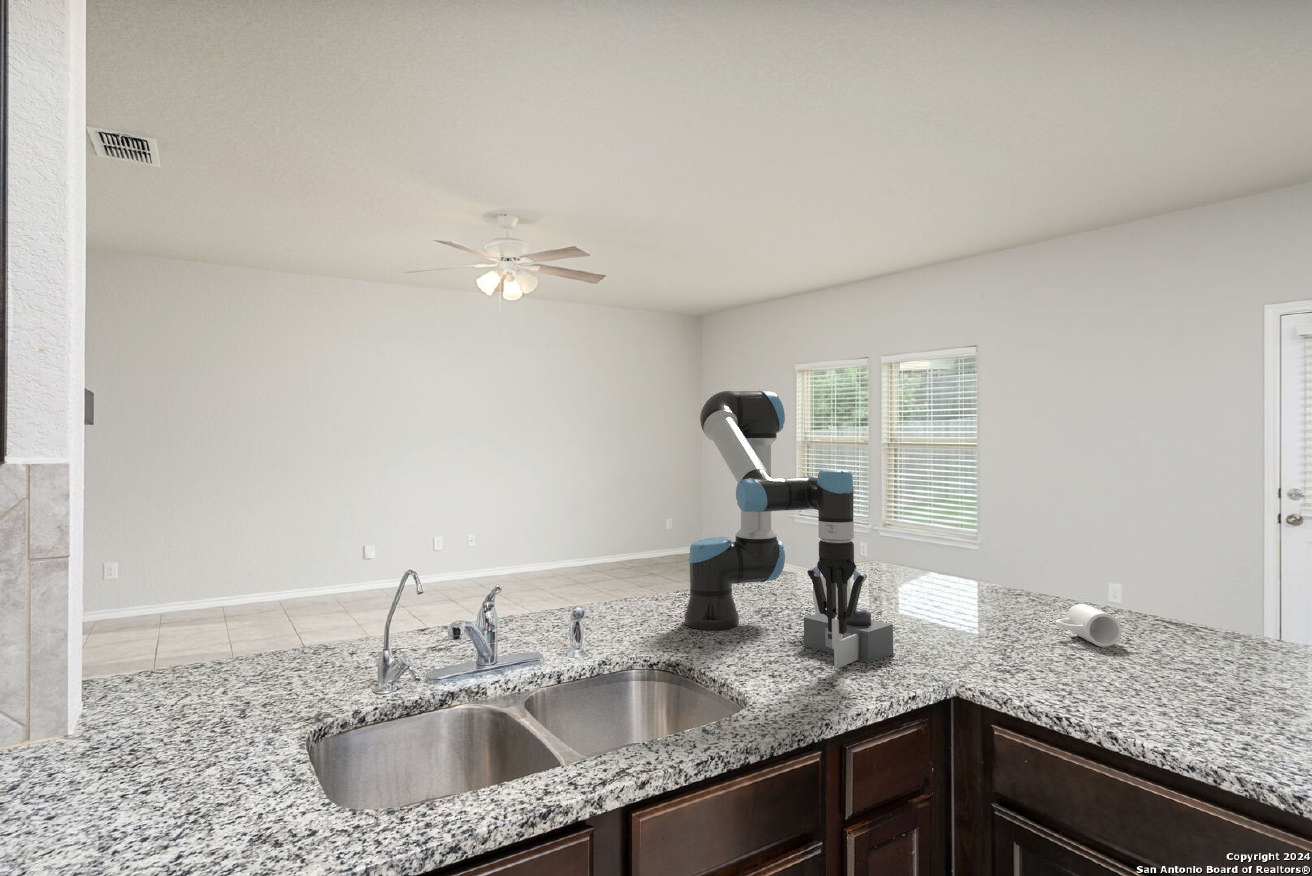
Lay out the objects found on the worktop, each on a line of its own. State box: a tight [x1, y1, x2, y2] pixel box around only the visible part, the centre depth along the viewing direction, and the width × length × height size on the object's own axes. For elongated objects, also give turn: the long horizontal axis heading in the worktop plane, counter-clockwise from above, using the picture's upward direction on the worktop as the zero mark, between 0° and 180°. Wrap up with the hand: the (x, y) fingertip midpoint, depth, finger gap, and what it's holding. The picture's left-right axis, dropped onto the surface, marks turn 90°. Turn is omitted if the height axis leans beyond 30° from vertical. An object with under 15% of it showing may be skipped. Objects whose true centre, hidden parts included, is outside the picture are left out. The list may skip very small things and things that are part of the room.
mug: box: [1055, 603, 1123, 648], centre depth 164 cm, size 12×10×8 cm
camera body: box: [803, 607, 894, 664], centre depth 160 cm, size 18×10×10 cm, turn 39°
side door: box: [833, 633, 859, 670], centre depth 148 cm, size 10×1×6 cm, turn 134°
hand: (837, 647), depth 147 cm, fingers closed
